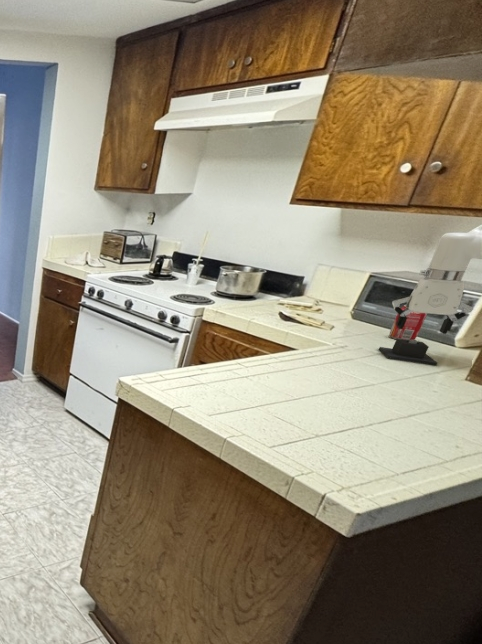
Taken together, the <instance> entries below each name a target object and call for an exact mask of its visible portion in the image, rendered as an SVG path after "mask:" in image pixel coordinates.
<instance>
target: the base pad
mask: <svg viewBox="0 0 482 644" xmlns="http://www.w3.org/2000/svg"><path fill="white" fill-rule="evenodd" d="M417 341H418V340H417V339H415V340H414V339H412V340H410V341H409V343H413V344H417ZM378 351H379V352H380V353H381V354H383V356H384V357H385V358H386V359H388V360H395V361H402V362H408V363H415V364H422V365H429V366H437V365H438V362H437V361H436V360H435V359H434V358H432V357H431V356H430V355H428V353H426V354H425V356H424V358H423V359H422V358H415V357H408V356H400V355H397V354H396V353H394V352H393V351H392V348H391V347H383V346H379V347H378Z"/></svg>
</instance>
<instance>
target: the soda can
mask: <svg viewBox="0 0 482 644" xmlns="http://www.w3.org/2000/svg"><path fill="white" fill-rule="evenodd" d="M406 305H407V304H403V306H402V307H400V308H401V309H402V310H403V309H405V308H407V307H406ZM427 315H428V313H418V312H412V313H410V314H408V315H406V317H407V320H406V322H405V325H404V327H403V329H399V328H397V326H396V322H397V319H398V317H399V314H398V313H397V314H396V317H395V318H394V321H393V323H392V325H391V328H390V330H389V336H390V337H391V338H392V339H394V340H396V339H404V340H412V339H414V340H417V337H418V335H419V333H420V331H421V329H422V327H423V324H424V323H425V320H426V318H427Z"/></svg>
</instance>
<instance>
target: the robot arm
mask: <svg viewBox="0 0 482 644" xmlns="http://www.w3.org/2000/svg"><path fill="white" fill-rule="evenodd" d="M472 259H477V260H482V224H480V225H478V226H476V227H475V228H472V229H471V230H469V231H468V232H445V233H444V234H443V235H442V236H441V237H440V238H439V241H438V244H437V246H436V248H435V251H434V253H433V256H432V257H431V260H430V263H429V265H428V267H427V268H426V269H424V270H422V269H421V270H420V271H419V276H423V277H422V278H420V279H419V281H418V282H417V283H416V285H415V286H414V288H413V290H412V292H411V294H410V295H409V296H407V297H403V298H399V299H395V300H392V301H391V304H392V307H393V310H394V311H395V312H396V313H397V314H399V317H398V319H397V322H396V326H397V328H399V329H403V327H404V325H405V322H406V320H407V317H406V315H408V314H410V313H412V312H418V313H427V314H429V315H430V314H431V315H440V316H442V315H443V316H445V317H446V318H445V319H443V322H442V324H441V326H440V328H439V332H440V333H442V334H443V335H446V334H447V333H448V332H450V331H451V330H452V328H453V324H454V322H457V321H458V320H460V319H462V318H464V317H466V316H467V315H468V314H469V313H471V312H472V311H473V310H474V307H473V306H470V305H469V304H466V303H465V302H462V298H463V293H464V290H465V289H464V288H465V284H466V282H465V281H462V280H463V277H464V275H465V273H466V270H467V268H468V266H469V264H470V262H471V260H472ZM405 303H406V304H405ZM401 304H405V305H406V307H407V308H405V309H403V310H402V309H401V308H402V307H401V306H400V305H401ZM459 307H460V308H461V309H462V310H461V311H459V312H457V311H458V309H459Z"/></svg>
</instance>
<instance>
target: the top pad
mask: <svg viewBox="0 0 482 644" xmlns="http://www.w3.org/2000/svg"><path fill="white" fill-rule="evenodd" d="M409 341H410V340H404V339H395V342H394V344H393V346H392V348H391V349H392V351H393V352H394V353H396V354H397V355H400V356H408V357H415V358H422V359H423V358H424V356H425V354H427V352H428V350H429V348H430V347H429V345H427V344H426V343H424V341H419V340H416V341H417V344H413V343H409Z"/></svg>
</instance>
